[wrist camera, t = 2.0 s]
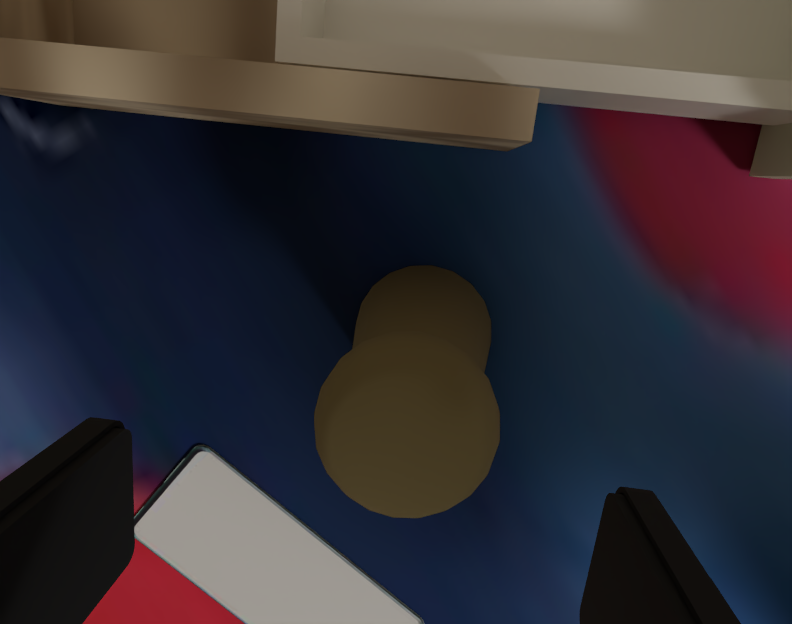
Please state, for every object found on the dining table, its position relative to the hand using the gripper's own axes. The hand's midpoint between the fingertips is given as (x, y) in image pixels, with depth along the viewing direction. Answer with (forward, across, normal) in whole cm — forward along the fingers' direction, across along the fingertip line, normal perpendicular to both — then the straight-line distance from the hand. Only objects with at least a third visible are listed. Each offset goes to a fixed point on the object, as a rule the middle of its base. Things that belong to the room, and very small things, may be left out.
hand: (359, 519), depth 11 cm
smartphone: (+15, +5, +14) cm, 21 cm away
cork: (+14, -1, 0) cm, 15 cm away
